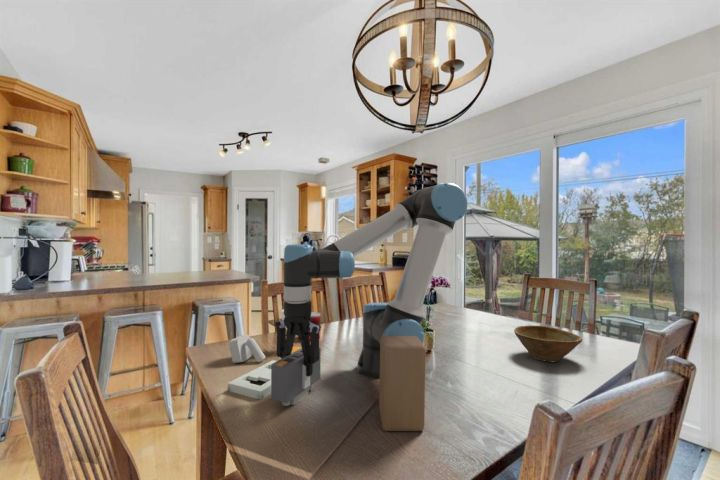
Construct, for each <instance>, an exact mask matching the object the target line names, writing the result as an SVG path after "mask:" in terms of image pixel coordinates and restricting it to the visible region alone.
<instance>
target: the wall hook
mask: <svg viewBox="0 0 720 480" xmlns="http://www.w3.org/2000/svg"><path fill="white" fill-rule="evenodd" d="M228 346H229V347H228V348H229V350H230V356H231V361H232V363H233V364H237V363H238V364H239V363H243V362H245V361H247V360H248V359H250V358H251V357H252V356H253V357H254V358H255V360H256V362H257V363H260V362H262V361H263V360H264V359H266V358H267V357H266V356H265V354H264V351H262V349H261V348H260V346H259V345H258V343H257V342H256V341H255V339H254V338H253V337H250V335H249V334H242V335H239V336H236V337H235V338H233V339H230V341H229V343H228Z"/></svg>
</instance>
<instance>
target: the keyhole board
mask: <svg viewBox="0 0 720 480" xmlns="http://www.w3.org/2000/svg"><path fill="white" fill-rule="evenodd" d="M276 361H277V360H274V359H272V360H271V361H268V362H267V363H265V364H263V365H261V366H259V367H257V368H254V369H253V370H251V371H249V372H247V373H245V374H243V375H240V376H239V377H237V378H235V379H233V380H231V381H229V382H227V392H229V393H234V394H238V395H240V396H241V395H242V396H244V397H245V396H246V397H248V398H252V399H257V400H259V401H260V400H263V399H265V398H266V397H267V396H269V395H270V394H271V364H273V363H275V362H276ZM251 381H255V382H258V381H259V382H260V381H262V382H264V383H263V384H262V385H259V384H254V383H251Z"/></svg>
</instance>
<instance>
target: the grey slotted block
mask: <svg viewBox="0 0 720 480" xmlns="http://www.w3.org/2000/svg"><path fill="white" fill-rule="evenodd" d="M321 349H322V348H320V347H319V360H318V361H317V362H315V363H314V364H313V373H312V375H311V376H310V386H309V391H310V390H311V389H312V386H313V385H314V384H315V383H317V382H319V380H321V356H322V355H321ZM275 361H276V362H275V363H273V364H271V395H270V396H271V397H270V400H273V401H277V402H281V403H282V404H281V405H282V406H283V407H289V406H290V401H291V400H292V399H294V398H295V397H296V396H298V395H299V394H300V393H302V392H303V391H304V390H306V389H307V388H308V387H307V388H306V389H302V365H303V364H304V363H305V361H304V356H303V351H302V347H301V349H299V350H297V351H295V352H293V353H292V354H290V355H288V356H286V357H284V358H280V359H278V360H275Z"/></svg>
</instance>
